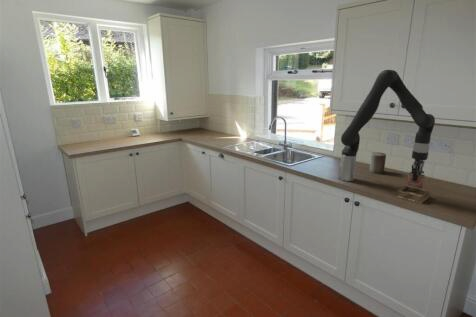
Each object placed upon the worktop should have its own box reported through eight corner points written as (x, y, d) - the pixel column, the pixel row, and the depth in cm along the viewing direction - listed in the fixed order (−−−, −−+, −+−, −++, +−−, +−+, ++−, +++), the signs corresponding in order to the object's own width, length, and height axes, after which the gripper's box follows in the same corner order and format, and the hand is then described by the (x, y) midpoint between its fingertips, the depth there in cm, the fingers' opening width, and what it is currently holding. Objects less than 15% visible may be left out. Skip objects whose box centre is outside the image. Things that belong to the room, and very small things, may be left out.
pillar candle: (386, 172, 208) (389, 152, 205) (377, 174, 204) (380, 154, 201) (375, 169, 217) (377, 149, 213) (366, 170, 213) (368, 151, 209)
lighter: (405, 185, 166) (408, 169, 164) (407, 183, 169) (410, 167, 166) (421, 189, 161) (424, 172, 158) (423, 187, 163) (426, 170, 160)
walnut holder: (396, 196, 167) (397, 190, 166) (404, 190, 175) (405, 185, 174) (421, 203, 158) (422, 197, 157) (428, 197, 166) (430, 191, 165)
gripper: (417, 147, 166) (412, 175, 171) (408, 151, 157) (403, 181, 162) (432, 149, 161) (427, 178, 166) (424, 153, 152) (418, 184, 156)
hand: (415, 179), depth 164 cm, fingers closed on lighter, 3 cm apart
